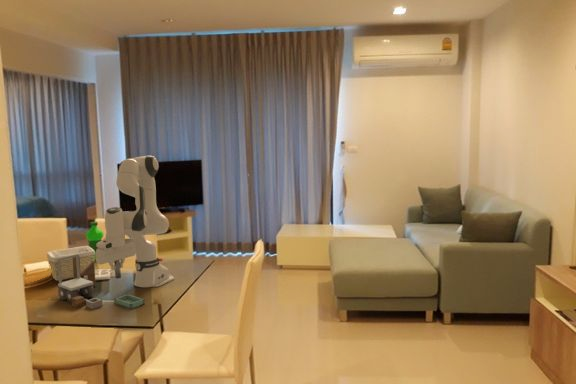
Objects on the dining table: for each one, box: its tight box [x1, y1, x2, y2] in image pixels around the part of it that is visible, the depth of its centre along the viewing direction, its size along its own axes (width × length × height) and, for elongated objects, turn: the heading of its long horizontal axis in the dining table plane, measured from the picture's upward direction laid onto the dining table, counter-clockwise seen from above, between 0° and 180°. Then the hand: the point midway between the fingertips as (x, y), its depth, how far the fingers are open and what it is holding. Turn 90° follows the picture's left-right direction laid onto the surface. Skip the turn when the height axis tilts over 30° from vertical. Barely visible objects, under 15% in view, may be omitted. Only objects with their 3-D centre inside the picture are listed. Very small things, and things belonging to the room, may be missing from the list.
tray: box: [114, 293, 145, 310], centre depth 239 cm, size 8×13×2 cm, turn 55°
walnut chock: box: [71, 295, 85, 309], centre depth 236 cm, size 4×4×4 cm
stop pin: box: [113, 260, 122, 280], centre depth 235 cm, size 3×3×11 cm
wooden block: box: [73, 256, 96, 288], centre depth 262 cm, size 4×11×18 cm, turn 119°
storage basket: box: [46, 245, 95, 282], centre depth 284 cm, size 24×16×15 cm
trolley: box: [57, 254, 103, 310], centre depth 242 cm, size 12×27×21 cm, turn 55°
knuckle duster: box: [83, 268, 115, 282], centre depth 281 cm, size 3×18×15 cm
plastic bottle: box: [85, 221, 104, 262], centre depth 314 cm, size 10×10×25 cm
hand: (117, 268), depth 235 cm, fingers closed on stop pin, 3 cm apart
